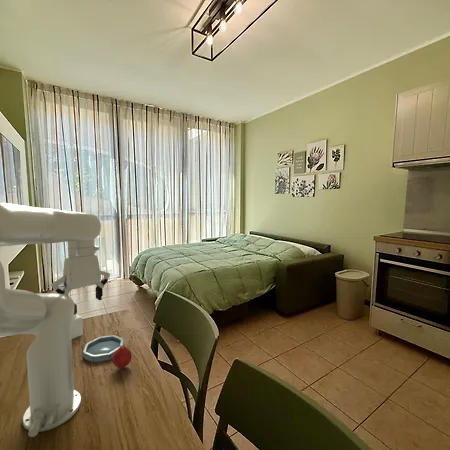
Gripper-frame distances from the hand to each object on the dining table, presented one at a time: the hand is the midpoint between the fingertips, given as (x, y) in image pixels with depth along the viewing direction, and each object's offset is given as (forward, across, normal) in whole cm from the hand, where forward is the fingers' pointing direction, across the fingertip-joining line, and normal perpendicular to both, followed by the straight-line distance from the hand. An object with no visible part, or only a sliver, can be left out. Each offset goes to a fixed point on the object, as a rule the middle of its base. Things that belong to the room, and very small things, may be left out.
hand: (83, 303), depth 83 cm
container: (+21, -2, -24) cm, 32 cm away
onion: (+22, -8, +10) cm, 25 cm away
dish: (+21, -8, -3) cm, 23 cm away
